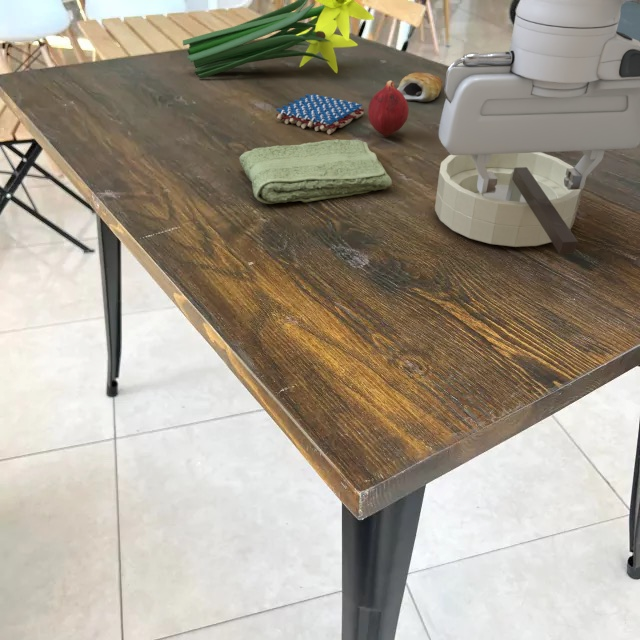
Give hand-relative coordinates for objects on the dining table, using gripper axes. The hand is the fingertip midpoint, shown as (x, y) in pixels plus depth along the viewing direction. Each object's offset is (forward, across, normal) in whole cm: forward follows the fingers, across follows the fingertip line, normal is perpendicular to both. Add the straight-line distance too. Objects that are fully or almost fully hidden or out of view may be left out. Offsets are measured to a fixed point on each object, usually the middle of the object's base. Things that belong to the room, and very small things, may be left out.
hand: (529, 189), depth 68 cm
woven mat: (+6, -18, +40) cm, 44 cm away
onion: (+6, -9, +32) cm, 33 cm away
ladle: (+6, 0, -1) cm, 6 cm away
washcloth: (+6, -21, +18) cm, 28 cm away
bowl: (+6, 0, +6) cm, 8 cm away
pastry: (+6, 0, +50) cm, 50 cm away
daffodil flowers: (+6, -24, +64) cm, 68 cm away
